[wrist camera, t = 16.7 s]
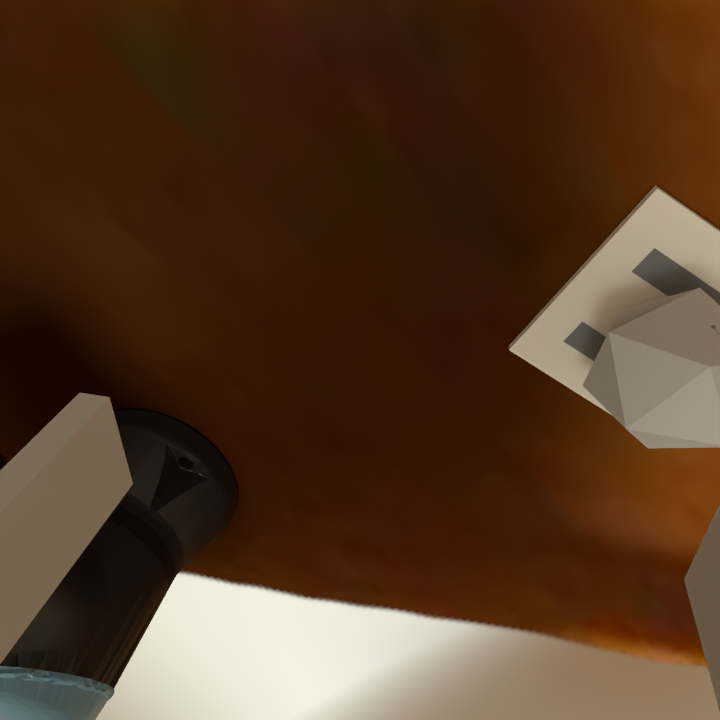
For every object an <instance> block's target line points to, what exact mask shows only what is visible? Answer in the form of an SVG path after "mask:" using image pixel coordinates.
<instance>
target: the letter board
mask: <svg viewBox="0 0 720 720" xmlns="http://www.w3.org/2000/svg"><path fill="white" fill-rule="evenodd" d="M697 288H701V289H702V290H703V291H704V292H705V293H707V294H708V295H709V296H710V297H711V298H712V299H713V300H714V301H715V302H717V303H718V304H719V305H720V230H719V229H718V228H716V227H715V226H713V225H712V224H711V223H709V222H708V221H706V220H705V219H703V218H702V217H700V216H699V215H698V214H696V213H695V212H693V211H692V210H690V209H689V208H688V207H686V206H685V205H683V204H682V203H680V202H679V201H677V200H676V199H675V198H673V197H672V196H670V195H669V194H667V193H666V192H665V191H663V190H662V189H660V188H659V187H657V186H656V185H655V186H654V187H653V188H652V189H651V190H650V191H649V193H648V194H647V195H646V196H645V197H644V198H643V199H642V200H641V201H640V202H639V204H638V205H637V206H636V207H635V208H634V209H633V210H632V211H631V212H630V213H629V214H628V216H627V217H626V218H625V219H624V220H623V221H622V222H621V223H620V224H619V225H618V227H617V228H616V229H615V230H614V231H613V232H612V233H611V234H610V235H609V236H608V237H607V239H606V240H605V241H604V242H603V243H602V244H601V245H600V246H599V247H598V248H597V250H596V251H595V252H594V253H593V254H592V255H591V256H590V257H589V258H588V259H587V260H586V262H585V263H584V264H583V265H582V266H581V267H580V268H579V269H578V270H577V271H576V273H575V274H574V275H573V276H572V277H571V278H570V279H569V280H568V281H567V282H566V283H565V285H564V286H563V287H562V288H561V289H560V290H559V291H558V292H557V293H556V294H555V296H554V297H553V298H552V299H551V300H550V301H549V302H548V303H547V304H546V305H545V306H544V308H543V309H542V310H541V311H540V312H539V313H538V314H537V315H536V316H535V317H534V319H533V320H532V321H531V322H530V323H529V324H528V325H527V326H526V327H525V328H524V329H523V331H522V332H521V333H520V334H519V335H518V336H517V337H516V338H515V339H514V340H513V342H512V343H511V344H510V345H509V350H510V351H511V352H513V353H514V354H516V355H518V356H519V357H521V358H522V359H524V360H525V361H527V362H529V363H530V364H532V365H533V366H535V367H537V368H538V369H540V370H541V371H543V372H544V373H546V374H548V375H549V376H551V377H552V378H554V379H556V380H557V381H559V382H560V383H562V384H563V385H565V386H567V387H568V388H570V389H571V390H573V391H574V392H576V393H578V394H579V395H581V396H582V397H584V398H586V399H587V400H589V401H590V402H592V403H593V404H595V405H597V406H598V407H600V408H601V409H603V410H604V411H606V412H608V413H609V414H611V413H610V412H609V411H608V410H607V409H606V408H605V407H604V406H603V405H602V404H601V403H600V402H599V401H598V400H597V399H596V398H595V397H593V396H592V395H591V394H590V393H589V392H588V391H587V390H586V389H585V388H584V387H583V386H582V385H583V383H584V381H585V379H586V377H587V375H588V373H589V371H590V369H591V367H592V365H593V363H594V361H595V359H596V357H597V355H598V353H599V351H600V349H601V347H602V345H603V343H604V340H605V338H606V336H607V334H608V332H609V331H610V329H611V327H612V326H613V324H614V322H615V321H616V319H617V317H618V316H619V314H620V312H621V311H622V309H625V308H629V307H632V306H636V305H640V304H643V303H647V302H650V301H654V300H657V299H661V298H665V297H668V296H672V295H675V294H679V293H683V292H686V291H690V290H693V289H697ZM611 415H612V414H611ZM612 416H613V415H612Z"/></svg>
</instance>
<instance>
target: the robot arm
mask: <svg viewBox="0 0 720 720" xmlns="http://www.w3.org/2000/svg"><path fill="white" fill-rule="evenodd" d="M236 503H237V487H236V482H235V479H234V476H233V474H232V472H231V470H230V468H229V466H228V464H227V463H226V461H225V460H224V458H223V457H222V456H221V454H220V453H219V452H218V451H217V450H216V449H215V448H214V446H213V445H212V444H210V443H209V442H208V441H207V440H206V439H205V438H204V437H202V436H201V435H200V434H198V433H197V432H196V431H194V430H193V429H191V428H189V427H188V426H186V425H184V424H183V423H181V422H179V421H177V420H174V419H172V418H170V417H167V416H164V415H162V414H158V413H155V412H150V411H145V410H137V409H124V410H117V411H113V408H112V404H111V401H110V397H106V396H99V395H92V394H86V393H79V394H78V395H77V396H76V397H75V398H74V399H73V400H72V401H71V402H70V403H69V404H68V405H67V406H65V407H64V408H63V409H62V410H61V411H60V412H59V413H58V414H57V415H56V416H55V417H54V418H53V419H52V420H51V421H50V422H49V423H48V424H47V425H46V426H45V427H44V428H43V429H42V430H41V431H40V432H39V433H38V434H37V435H36V436H35V437H34V438H33V439H32V440H31V441H30V442H29V443H28V444H27V445H26V446H25V447H24V448H23V449H22V450H21V451H20V452H19V453H18V454H17V455H16V456H15V457H14V458H13V459H12V460H11V461H10V462H8V461H7V460H6V459H5V458H4V457H3V456H2V455H1V454H0V720H95V719H96V718H97V716H98V714H99V713H100V711H101V710H102V708H103V707H104V705H105V704H106V702H107V701H108V700H109V699H110V698H111V697H112V696H113V694H114V688H115V686H116V684H117V682H118V680H119V678H120V677H121V675H122V673H123V671H124V669H125V667H126V665H127V664H128V662H129V660H130V658H131V657H132V655H133V653H134V651H135V649H136V647H137V646H138V644H139V642H140V640H141V638H142V637H143V635H144V633H145V631H146V629H147V627H148V626H149V624H150V622H151V620H152V618H153V617H154V615H155V613H156V611H157V609H158V607H159V606H160V604H161V602H162V600H163V598H164V596H165V595H166V593H167V591H168V589H169V587H170V585H171V584H172V582H173V580H174V578H175V577H176V575H177V574H178V573H179V572H180V571H181V570H182V569H183V568H185V567H186V566H187V565H188V564H189V563H190V562H191V561H192V560H193V559H194V558H196V557H197V556H198V555H199V554H200V553H201V552H202V551H203V550H204V549H205V548H206V547H207V546H208V545H209V544H210V543H212V542H213V541H214V540H216V539H217V538H218V537H219V535H220V534H221V533H222V532H223V530H224V529H225V527H226V525H227V523H228V521H229V519H230V518H231V516H232V514H233V512H234V510H235V507H236ZM684 581H685V584H686V588H687V592H688V595H689V599H690V603H691V607H692V610H693V614H694V618H695V621H696V625H697V629H698V633H699V636H700V640H701V644H702V647H703V651H704V655H705V659H706V662H707V666H708V670H709V673H710V677H711V681H712V684H713V688H714V692H715V695H716V699H717V703H718V707H719V710H720V504H719V506H718V508H717V511H716V513H715V515H714V517H713V519H712V521H711V523H710V526H709V528H708V530H707V532H706V534H705V536H704V538H703V540H702V543H701V545H700V547H699V549H698V551H697V553H696V555H695V557H694V560H693V562H692V564H691V566H690V568H689V570H688V572H687V574H686V577H685V579H684Z"/></svg>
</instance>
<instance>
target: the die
mask: <svg viewBox="0 0 720 720" xmlns="http://www.w3.org/2000/svg"><path fill="white" fill-rule="evenodd" d="M582 386H583V387H584V388H585V389H586V390H587V391H588V392H589V393H590V394H591V395H592V396H593V397H595V398H596V399H597V400H598V401H599V402H600V403H601V404H602V405H603V406H604V407H605V408H606V409H607V410H608V411H609V412H610V413H611V414H612V415H613V416H614V417H615V418H616V419H617V420H618V421H619V422H620V423H621V424H622V425H623V426H624V427H625V428H626V429H627V430H628V431H629V432H630V433H631V434H632V435H633V436H635V437H636V438H637V439H638V440H639V441H640V442H641V443H642V444H643V445H645V446H646V447H647V448H706V447H720V305H719V304H718V303H717V302H715V301H714V300H713V299H712V298H711V297H710V296H709V295H708V294H707V293H705V292H704V291H703V290H702V289H701V288H697V289H693V290H690V291H686V292H683V293H679V294H675V295H672V296H668V297H665V298H661V299H657V300H654V301H650V302H647V303H643V304H640V305H636V306H632V307H629V308H625V309H622V311H621V312H620V314H619V316H618V317H617V319H616V321H615V322H614V324H613V326H612V327H611V329H610V331H609V332H608V334H607V336H606V338H605V340H604V343H603V345H602V347H601V349H600V351H599V353H598V355H597V357H596V359H595V361H594V363H593V365H592V367H591V369H590V371H589V373H588V375H587V377H586V379H585V381H584V383H583V385H582Z"/></svg>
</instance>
